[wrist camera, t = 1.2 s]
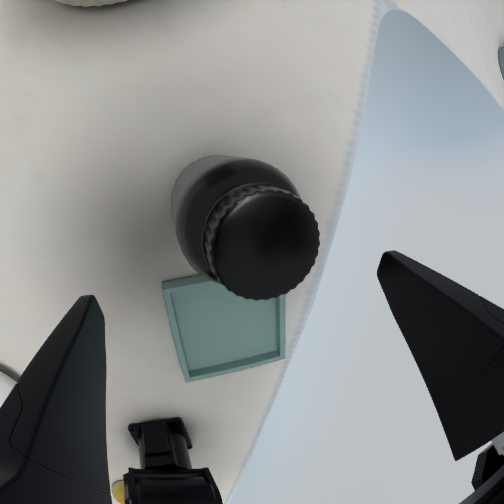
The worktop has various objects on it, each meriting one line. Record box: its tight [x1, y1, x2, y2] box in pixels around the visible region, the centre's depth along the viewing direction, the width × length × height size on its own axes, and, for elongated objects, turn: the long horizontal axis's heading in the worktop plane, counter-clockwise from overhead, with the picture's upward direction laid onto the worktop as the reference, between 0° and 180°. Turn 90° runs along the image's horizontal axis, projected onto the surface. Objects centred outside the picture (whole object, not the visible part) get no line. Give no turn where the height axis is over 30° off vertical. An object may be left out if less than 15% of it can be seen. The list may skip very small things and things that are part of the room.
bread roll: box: [112, 480, 125, 504], centre depth 31 cm, size 8×9×4 cm
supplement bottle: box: [172, 156, 320, 301], centre depth 17 cm, size 7×7×12 cm
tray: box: [162, 275, 285, 382], centre depth 26 cm, size 10×10×2 cm
